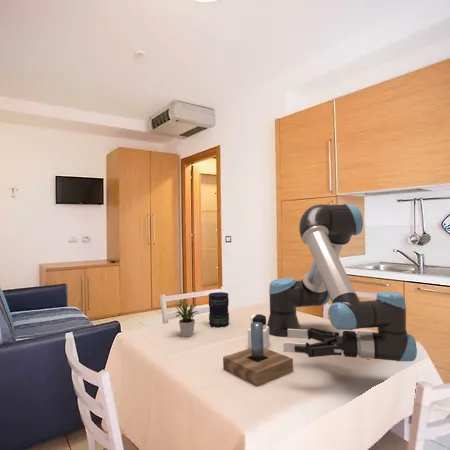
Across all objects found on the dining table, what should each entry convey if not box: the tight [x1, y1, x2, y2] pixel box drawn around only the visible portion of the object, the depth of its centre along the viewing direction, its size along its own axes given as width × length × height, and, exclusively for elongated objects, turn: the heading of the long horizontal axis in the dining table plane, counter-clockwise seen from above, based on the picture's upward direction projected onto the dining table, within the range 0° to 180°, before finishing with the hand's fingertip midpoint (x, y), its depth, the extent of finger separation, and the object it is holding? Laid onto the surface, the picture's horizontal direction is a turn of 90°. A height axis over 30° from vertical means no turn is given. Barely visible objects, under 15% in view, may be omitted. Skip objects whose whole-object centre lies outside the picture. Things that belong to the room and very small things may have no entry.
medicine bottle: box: [247, 313, 270, 349], centre depth 130 cm, size 7×7×12 cm
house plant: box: [172, 299, 202, 338], centre depth 146 cm, size 14×14×16 cm
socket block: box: [222, 348, 294, 387], centre depth 107 cm, size 16×16×4 cm
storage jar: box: [208, 291, 230, 329], centre depth 160 cm, size 10×10×15 cm
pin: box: [250, 322, 264, 362], centre depth 107 cm, size 4×4×15 cm
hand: (285, 339), depth 105 cm, fingers open, 13 cm apart
